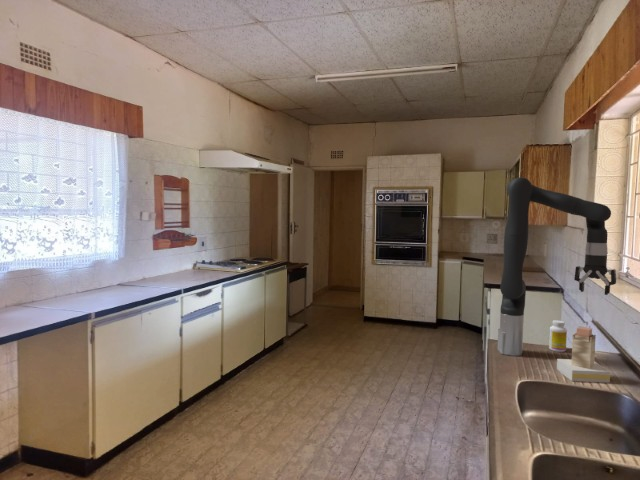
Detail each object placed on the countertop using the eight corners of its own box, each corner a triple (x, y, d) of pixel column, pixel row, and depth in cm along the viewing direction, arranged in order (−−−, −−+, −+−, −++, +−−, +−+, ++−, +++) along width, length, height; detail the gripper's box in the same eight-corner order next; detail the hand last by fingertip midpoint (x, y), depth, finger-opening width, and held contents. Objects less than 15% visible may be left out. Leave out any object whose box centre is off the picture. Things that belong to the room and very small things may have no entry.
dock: (571, 381, 156) (572, 370, 156) (556, 368, 168) (557, 358, 168) (609, 382, 155) (610, 372, 155) (591, 370, 167) (592, 360, 167)
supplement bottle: (569, 352, 188) (570, 323, 187) (553, 352, 188) (555, 323, 187) (560, 347, 194) (562, 319, 193) (545, 347, 194) (547, 319, 194)
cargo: (576, 338, 161) (576, 328, 161) (579, 336, 164) (580, 326, 163) (588, 341, 158) (589, 330, 158) (591, 338, 161) (592, 328, 160)
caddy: (571, 364, 161) (572, 334, 161) (576, 361, 166) (577, 331, 165) (589, 369, 157) (591, 338, 156) (594, 365, 161) (595, 335, 161)
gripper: (573, 253, 178) (571, 291, 179) (614, 255, 167) (612, 297, 169) (579, 251, 183) (577, 289, 184) (619, 254, 173) (616, 294, 174)
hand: (594, 293), depth 176 cm, fingers open, 8 cm apart
